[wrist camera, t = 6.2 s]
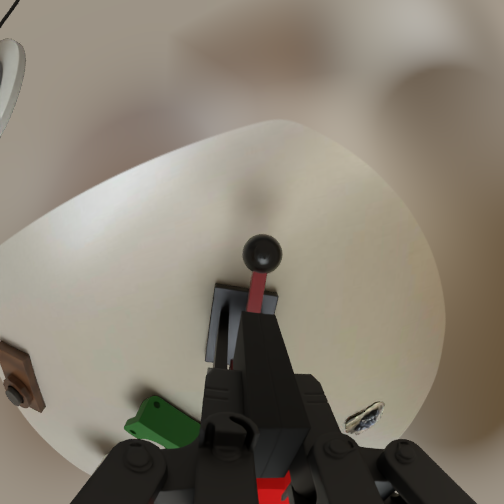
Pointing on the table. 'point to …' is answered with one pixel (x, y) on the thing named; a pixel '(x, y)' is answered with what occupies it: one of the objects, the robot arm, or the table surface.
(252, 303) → the ball knob lever
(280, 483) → the vase
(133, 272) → the table surface
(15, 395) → the button
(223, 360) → the black bracket
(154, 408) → the clamp
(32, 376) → the button block
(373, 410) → the grey flat irregular piece
